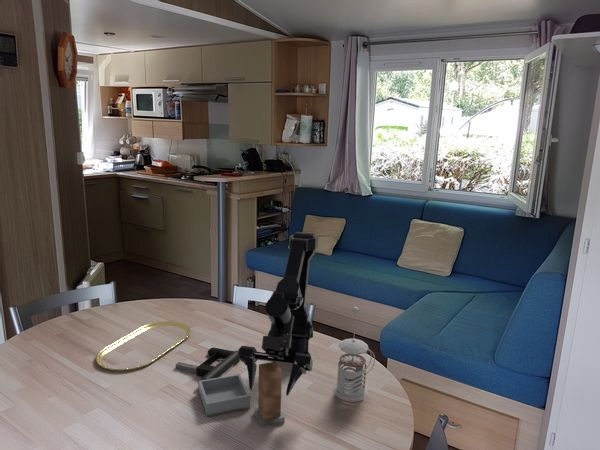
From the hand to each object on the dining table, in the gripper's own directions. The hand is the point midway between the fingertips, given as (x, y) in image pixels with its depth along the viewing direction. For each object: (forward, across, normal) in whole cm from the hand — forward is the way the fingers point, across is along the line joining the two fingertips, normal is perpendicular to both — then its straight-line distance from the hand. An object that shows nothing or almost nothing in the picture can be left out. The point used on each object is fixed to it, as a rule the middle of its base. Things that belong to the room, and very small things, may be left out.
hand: (268, 392), depth 113 cm
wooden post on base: (+5, 0, +6) cm, 8 cm away
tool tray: (+2, -14, +9) cm, 16 cm away
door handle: (-8, -24, +20) cm, 32 cm away
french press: (-8, +20, +19) cm, 28 cm away
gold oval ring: (-14, -49, +25) cm, 57 cm away
